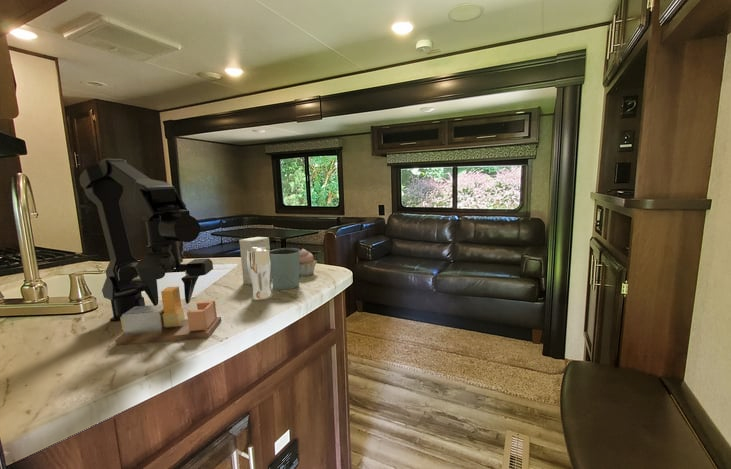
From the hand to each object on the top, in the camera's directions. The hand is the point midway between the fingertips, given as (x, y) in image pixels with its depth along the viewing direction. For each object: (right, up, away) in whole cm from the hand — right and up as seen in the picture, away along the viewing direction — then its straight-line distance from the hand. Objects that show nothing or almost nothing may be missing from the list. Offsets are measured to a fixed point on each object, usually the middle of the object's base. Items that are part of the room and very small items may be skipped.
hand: (172, 304), depth 79 cm
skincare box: (+8, 0, +39) cm, 40 cm away
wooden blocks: (-4, -5, 0) cm, 7 cm away
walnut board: (-1, -7, +1) cm, 7 cm away
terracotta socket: (+7, -5, +2) cm, 9 cm away
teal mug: (+19, -1, +34) cm, 39 cm away
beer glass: (+14, -3, +23) cm, 27 cm away
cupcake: (+23, +1, +46) cm, 51 cm away
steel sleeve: (-6, -6, 0) cm, 8 cm away
